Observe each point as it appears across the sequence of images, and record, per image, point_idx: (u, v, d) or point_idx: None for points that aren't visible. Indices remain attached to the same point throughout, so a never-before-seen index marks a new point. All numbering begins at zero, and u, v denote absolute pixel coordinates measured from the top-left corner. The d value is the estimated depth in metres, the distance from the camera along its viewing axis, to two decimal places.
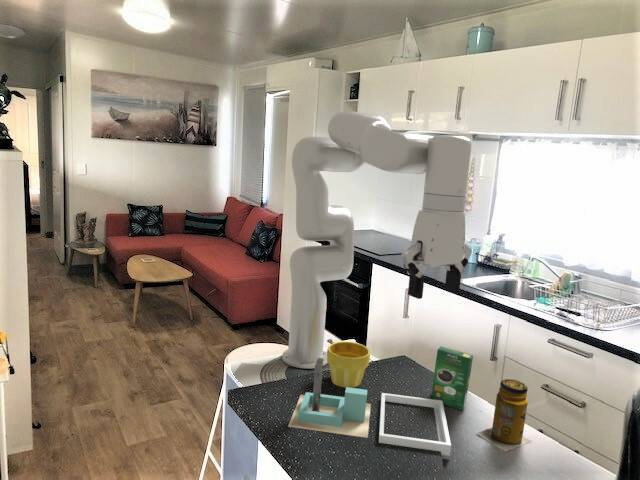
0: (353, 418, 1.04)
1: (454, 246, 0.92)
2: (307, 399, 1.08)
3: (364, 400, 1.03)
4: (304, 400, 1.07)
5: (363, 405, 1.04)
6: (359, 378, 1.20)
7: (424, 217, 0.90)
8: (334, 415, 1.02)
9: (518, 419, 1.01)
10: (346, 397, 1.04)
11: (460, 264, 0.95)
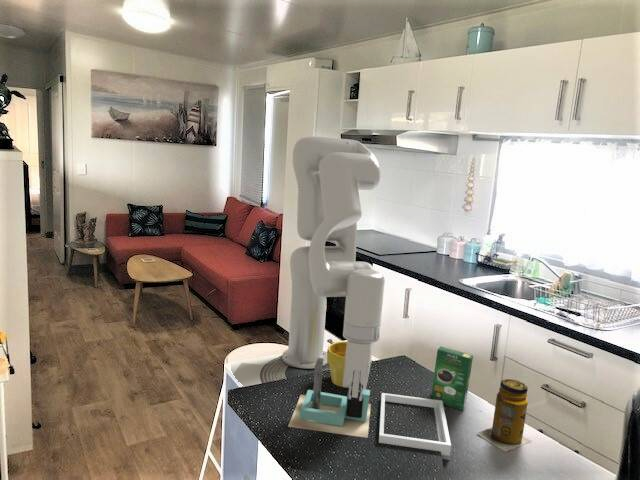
0: (354, 418, 1.04)
1: None
2: (309, 397, 1.08)
3: (367, 400, 1.03)
4: (306, 398, 1.07)
5: (366, 405, 1.04)
6: None
7: (359, 349, 0.98)
8: (336, 414, 1.02)
9: (518, 419, 1.01)
10: None
11: None
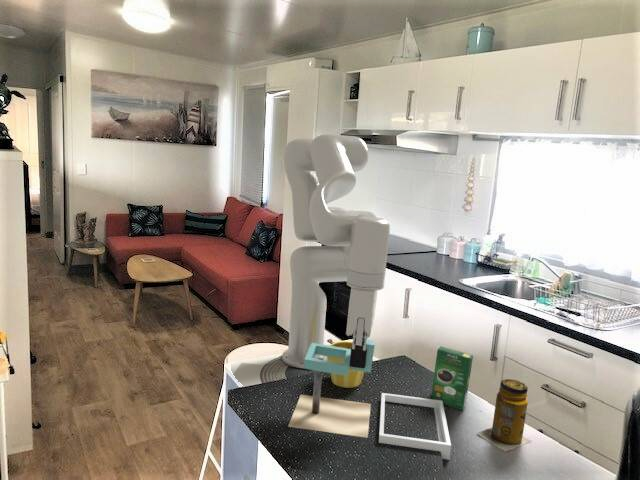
0: (359, 369, 1.03)
1: None
2: (313, 349, 1.06)
3: (371, 350, 1.02)
4: (310, 349, 1.06)
5: (371, 355, 1.02)
6: (359, 378, 1.20)
7: (363, 296, 0.97)
8: (341, 364, 1.00)
9: (518, 419, 1.01)
10: None
11: None
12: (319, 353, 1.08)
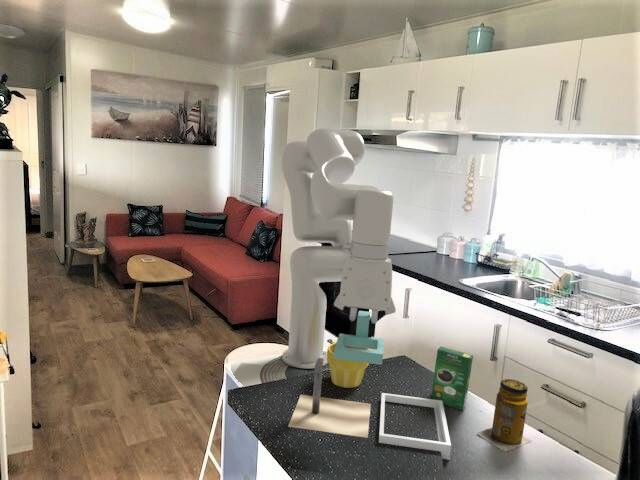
0: None
1: None
2: (352, 348, 0.93)
3: None
4: (355, 350, 0.93)
5: None
6: (359, 378, 1.20)
7: None
8: (380, 341, 0.99)
9: (518, 419, 1.01)
10: None
11: None
12: None
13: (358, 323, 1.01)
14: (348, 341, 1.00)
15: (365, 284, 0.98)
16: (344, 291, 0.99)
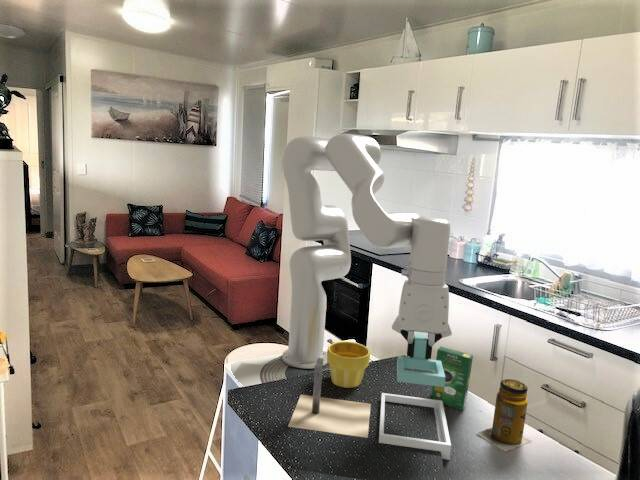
0: None
1: None
2: (414, 371, 0.98)
3: None
4: (418, 373, 0.97)
5: None
6: (359, 378, 1.20)
7: None
8: (438, 363, 1.03)
9: (518, 419, 1.01)
10: None
11: None
12: None
13: (416, 346, 1.05)
14: (407, 363, 1.05)
15: (423, 309, 1.03)
16: (403, 315, 1.03)
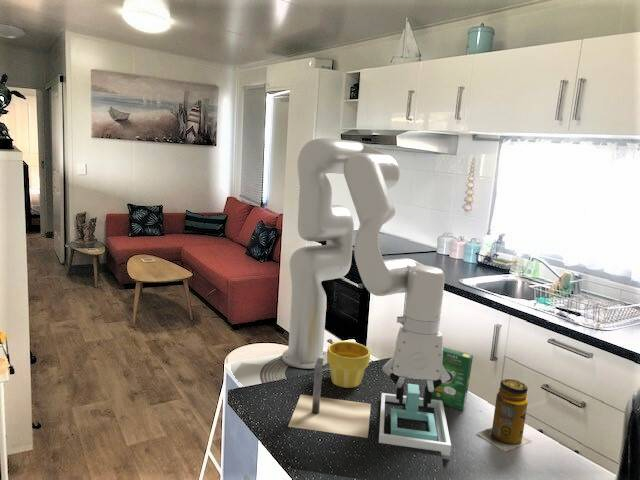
0: None
1: None
2: (407, 429, 1.00)
3: None
4: (410, 431, 0.99)
5: None
6: (359, 378, 1.20)
7: None
8: (431, 416, 1.06)
9: (518, 419, 1.01)
10: None
11: None
12: None
13: (409, 399, 1.07)
14: (400, 416, 1.07)
15: (418, 356, 1.04)
16: (398, 362, 1.05)
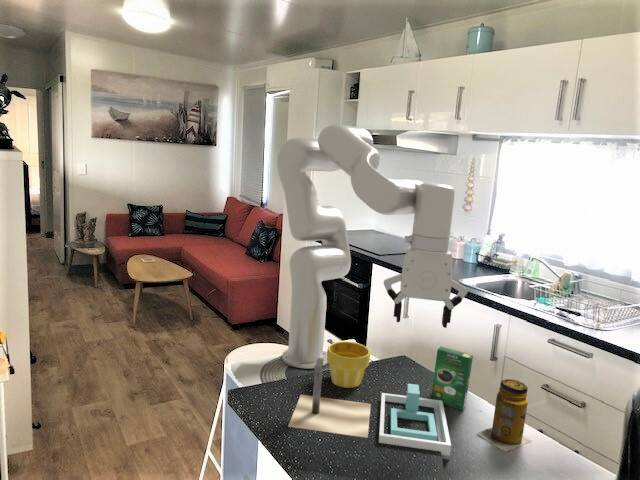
0: None
1: None
2: (407, 429, 1.00)
3: None
4: (410, 431, 0.99)
5: None
6: (359, 378, 1.20)
7: None
8: (431, 416, 1.06)
9: (518, 419, 1.01)
10: None
11: None
12: None
13: (409, 399, 1.07)
14: (400, 416, 1.07)
15: (426, 275, 1.02)
16: (405, 282, 1.02)
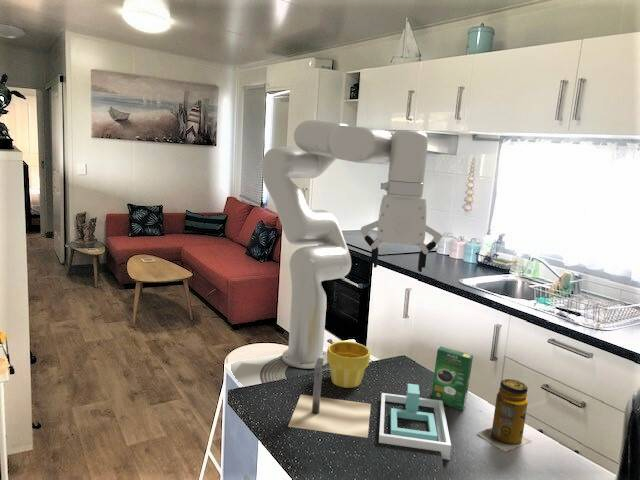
0: None
1: None
2: (407, 429, 1.00)
3: None
4: (410, 431, 0.99)
5: None
6: (359, 378, 1.20)
7: None
8: (431, 416, 1.06)
9: (518, 419, 1.01)
10: None
11: None
12: None
13: (409, 399, 1.07)
14: (400, 416, 1.07)
15: (401, 220, 1.05)
16: (381, 227, 1.06)
